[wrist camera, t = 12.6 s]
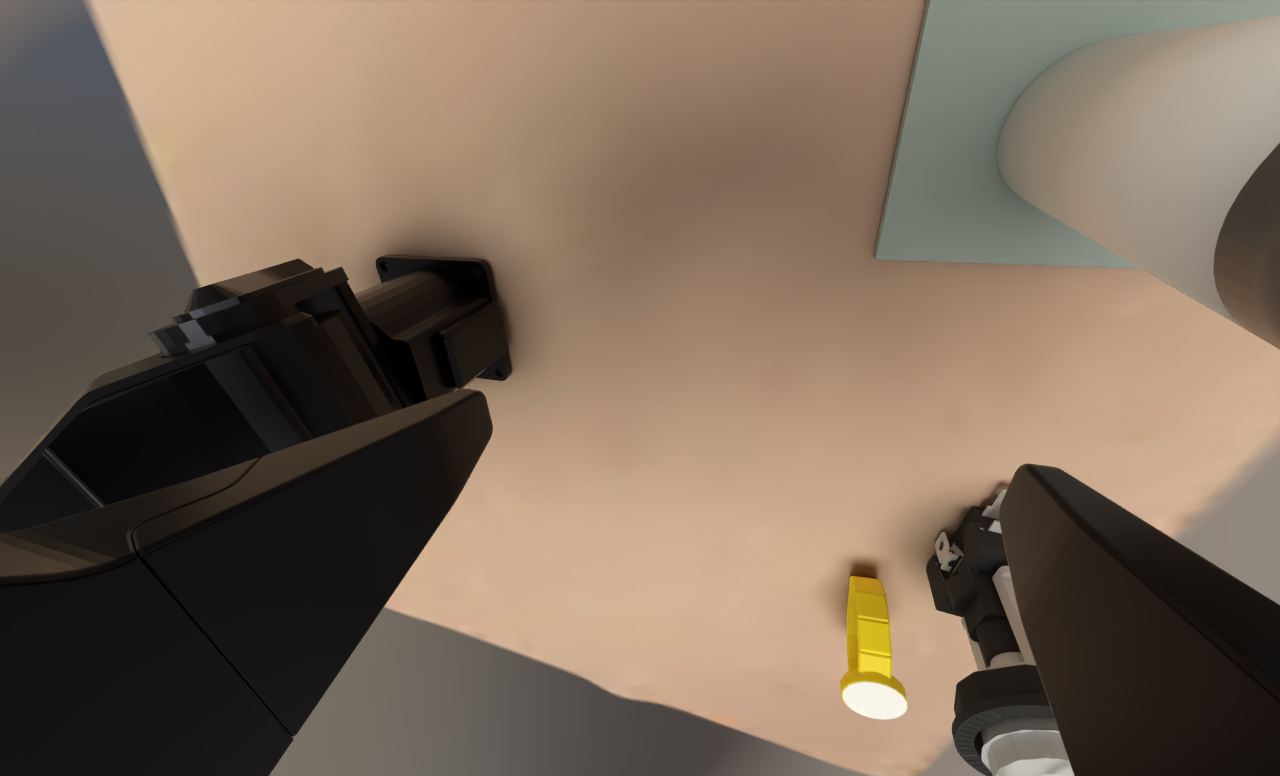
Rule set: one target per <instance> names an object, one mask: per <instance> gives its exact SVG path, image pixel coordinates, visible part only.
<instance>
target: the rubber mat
mask: <svg viewBox="0 0 1280 776" xmlns="http://www.w3.org/2000/svg"><path fill="white" fill-rule="evenodd" d="M1272 16H1280V0H927V2H926V7H925V12H924V16H923V21H922V26H921V31H920V36H919V40H918V45H917V50H916V55H915V60H914V64H913V69H912V74H911V79H910V84H909V89H908V93H907V98H906V103H905V108H904V113H903V117H902V122H901V127H900V132H899V137H898V142H897V146H896V151H895V156H894V161H893V166H892V170H891V175H890V180H889V185H888V190H887V195H886V199H885V204H884V209H883V214H882V219H881V223H880V228H879V233H878V238H877V243H876V247H875V252H874V256H875V259H877V260H905V261H934V262H962V263H991V264H1020V265H1048V266H1077V267H1105V268H1134V269H1141V268H1140V267H1138V266H1136V265H1134V264H1133V263H1131V262H1129V261H1128V260H1126V259H1124V258H1122V257H1121V256H1119V255H1117V254H1116V253H1114V252H1112V251H1110V250H1109V249H1107V248H1105V247H1104V246H1102V245H1100V244H1098V243H1097V242H1095V241H1093V240H1092V239H1090V238H1088V237H1086V236H1085V235H1083V234H1081V233H1080V232H1078V231H1076V230H1075V229H1073V228H1071V227H1069V226H1068V225H1066V224H1064V223H1063V222H1061V221H1059V220H1057V219H1056V218H1054V217H1052V216H1051V215H1049V214H1047V213H1045V212H1044V211H1042V210H1040V209H1039V208H1037V207H1035V206H1033V205H1032V204H1030V203H1028V202H1027V201H1025V200H1023V199H1022V198H1020V197H1018V196H1017V195H1016V194H1014V193H1013V192H1012V191H1011V190H1010V189H1009V187H1008V186H1007V185H1006V184H1005V182H1004V180H1003V178H1002V176H1001V173H1000V170H999V167H998V160H997V148H998V142H999V137H1000V134H1001V130H1002V127H1003V125H1004V122H1005V120H1006V118H1007V116H1008V114H1009V112H1010V110H1011V109H1012V107H1013V105H1014V104H1015V102H1016V101H1017V100H1018V98H1019V97H1020V95H1021V94H1022V93H1023V92H1024V91H1025V89H1026V88H1027V87H1028V86H1029V85H1030V84H1031V83H1032V82H1033V81H1034V80H1035V79H1036V78H1037V77H1038V76H1039V75H1040V74H1041V73H1042V72H1044V71H1045V70H1046V69H1047V68H1049V67H1050V66H1051V65H1052V64H1054V63H1055V62H1057V61H1058V60H1060V59H1061V58H1063V57H1064V56H1066V55H1068V54H1070V53H1072V52H1074V51H1075V50H1077V49H1080V48H1082V47H1084V46H1086V45H1089V44H1091V43H1094V42H1097V41H1101V40H1104V39H1108V38H1113V37H1118V36H1126V35H1133V34H1141V33H1149V32H1157V31H1164V30H1172V29H1180V28H1187V27H1195V26H1203V25H1211V24H1218V23H1226V22H1234V21H1241V20H1249V19H1257V18H1265V17H1272Z"/></svg>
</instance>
